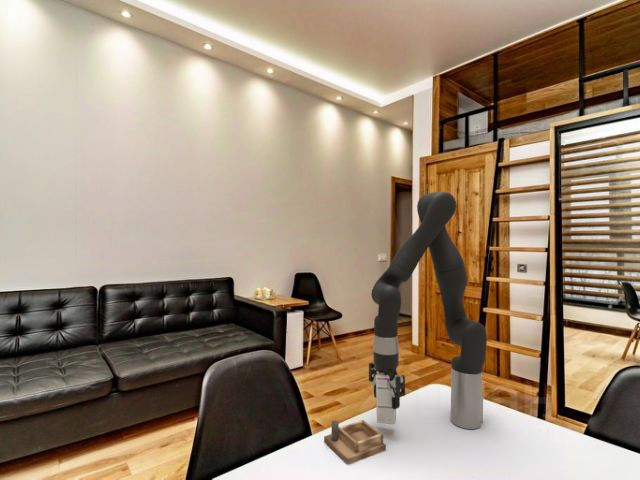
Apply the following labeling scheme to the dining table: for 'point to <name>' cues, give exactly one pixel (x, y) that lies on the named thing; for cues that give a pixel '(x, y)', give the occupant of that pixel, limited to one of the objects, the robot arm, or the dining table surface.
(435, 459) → the dining table surface
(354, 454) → the board
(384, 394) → the syrup box
